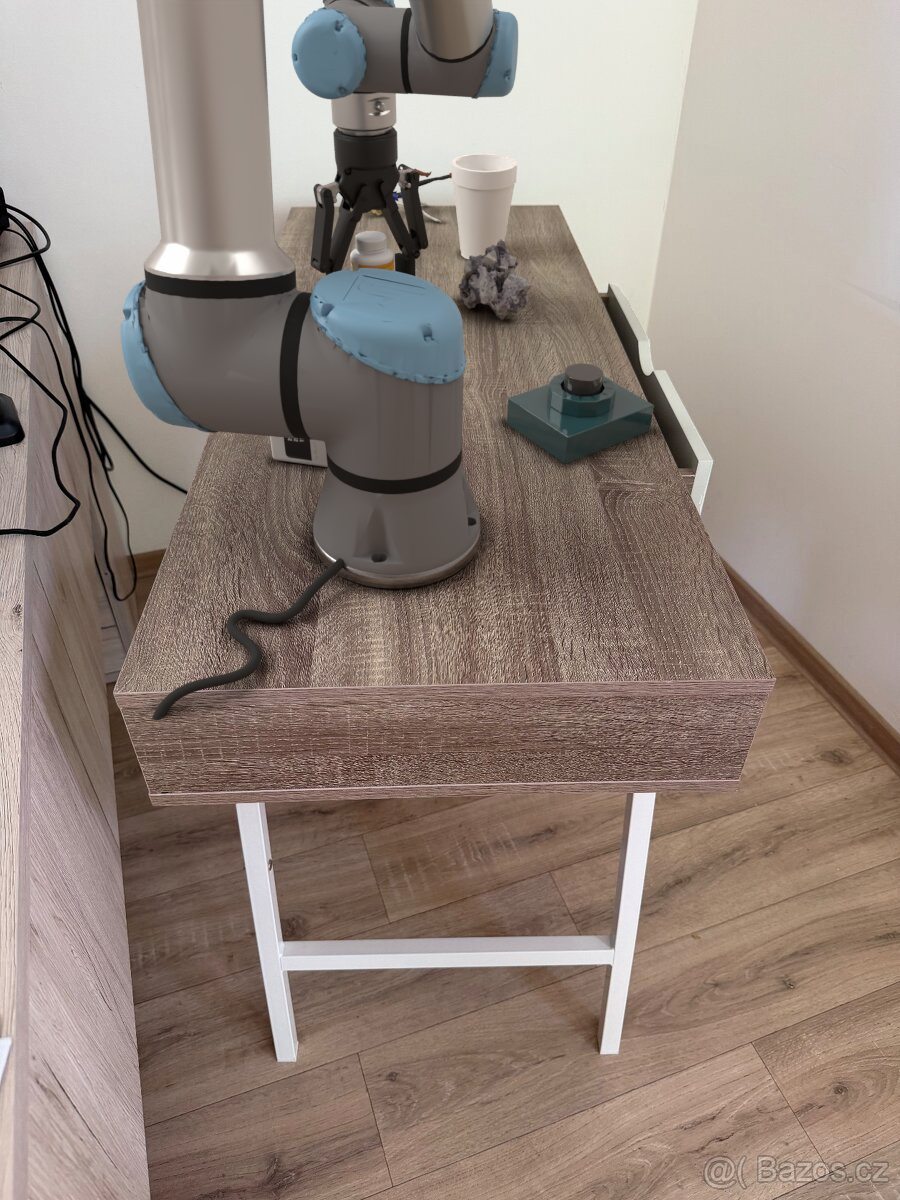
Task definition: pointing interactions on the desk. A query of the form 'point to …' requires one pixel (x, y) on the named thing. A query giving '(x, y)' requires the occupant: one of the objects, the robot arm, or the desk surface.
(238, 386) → the robot arm
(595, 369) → the push button
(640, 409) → the teal button base
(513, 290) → the mineral specimen
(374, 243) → the supplement bottle
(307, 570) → the desk surface
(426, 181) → the figurine
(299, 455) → the container
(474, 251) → the foam cup
